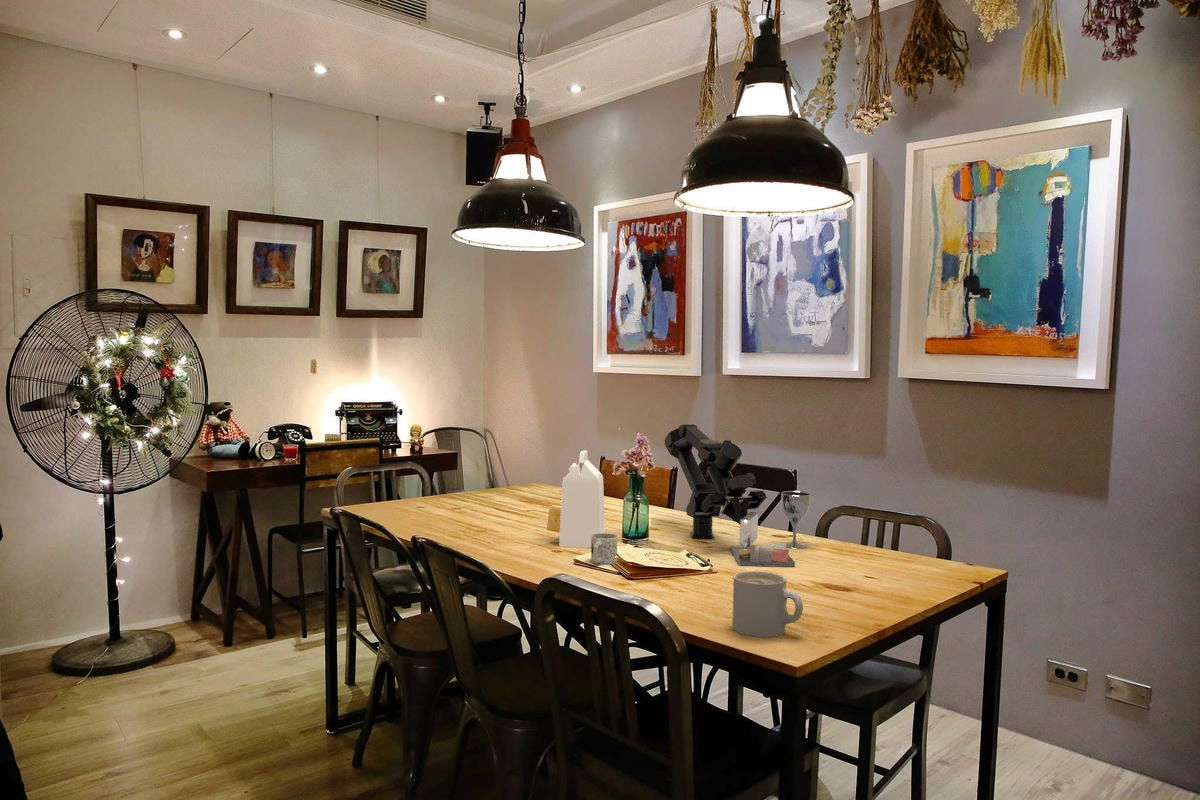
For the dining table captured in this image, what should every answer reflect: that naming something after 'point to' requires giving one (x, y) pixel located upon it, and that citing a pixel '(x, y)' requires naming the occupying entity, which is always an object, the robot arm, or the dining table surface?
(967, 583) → the dining table surface
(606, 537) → the mug
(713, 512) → the robot arm
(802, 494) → the wine glass
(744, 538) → the swing bar
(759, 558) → the base
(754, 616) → the coffee mug
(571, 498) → the milk
